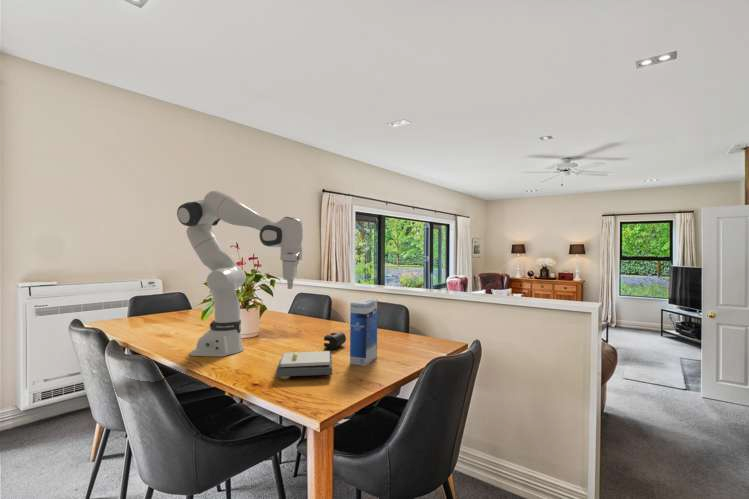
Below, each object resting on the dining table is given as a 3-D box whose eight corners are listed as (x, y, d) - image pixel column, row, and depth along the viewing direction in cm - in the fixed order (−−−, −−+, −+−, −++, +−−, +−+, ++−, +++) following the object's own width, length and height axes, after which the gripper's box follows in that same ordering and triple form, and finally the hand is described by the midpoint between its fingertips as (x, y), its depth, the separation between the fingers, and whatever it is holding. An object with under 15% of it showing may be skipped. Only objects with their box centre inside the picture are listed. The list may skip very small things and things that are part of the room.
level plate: (278, 367, 135) (278, 359, 135) (282, 356, 149) (282, 349, 148) (329, 364, 137) (329, 357, 137) (329, 353, 151) (329, 347, 151)
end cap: (336, 351, 172) (336, 336, 172) (323, 349, 175) (323, 335, 175) (346, 346, 181) (346, 332, 181) (333, 344, 184) (333, 331, 184)
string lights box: (362, 355, 165) (362, 298, 165) (378, 357, 162) (378, 299, 162) (349, 364, 153) (349, 302, 153) (366, 366, 150) (366, 303, 150)
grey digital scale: (276, 382, 133) (276, 369, 133) (282, 366, 150) (282, 355, 150) (332, 379, 135) (332, 367, 135) (331, 364, 153) (331, 353, 153)
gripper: (286, 254, 164) (285, 285, 164) (280, 256, 144) (279, 291, 144) (300, 255, 165) (299, 285, 165) (296, 256, 145) (295, 291, 145)
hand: (290, 288), depth 155 cm, fingers closed
